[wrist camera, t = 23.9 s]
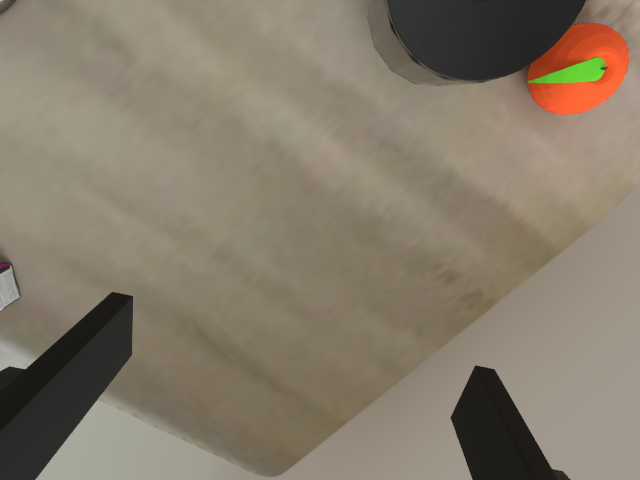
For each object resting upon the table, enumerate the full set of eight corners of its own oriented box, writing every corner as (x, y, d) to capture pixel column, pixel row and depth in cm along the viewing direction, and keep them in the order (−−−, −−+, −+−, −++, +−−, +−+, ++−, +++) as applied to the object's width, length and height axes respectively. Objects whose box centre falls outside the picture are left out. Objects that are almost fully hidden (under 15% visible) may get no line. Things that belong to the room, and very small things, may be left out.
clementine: (502, 122, 36) (540, 128, 29) (500, 43, 33) (541, 31, 26) (589, 103, 35) (649, 106, 28) (594, 21, 32) (660, 3, 26)
